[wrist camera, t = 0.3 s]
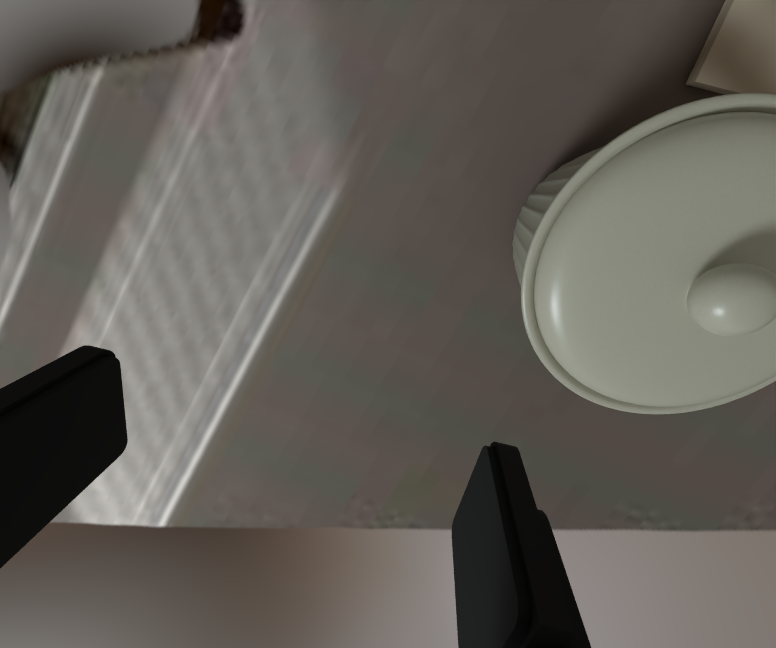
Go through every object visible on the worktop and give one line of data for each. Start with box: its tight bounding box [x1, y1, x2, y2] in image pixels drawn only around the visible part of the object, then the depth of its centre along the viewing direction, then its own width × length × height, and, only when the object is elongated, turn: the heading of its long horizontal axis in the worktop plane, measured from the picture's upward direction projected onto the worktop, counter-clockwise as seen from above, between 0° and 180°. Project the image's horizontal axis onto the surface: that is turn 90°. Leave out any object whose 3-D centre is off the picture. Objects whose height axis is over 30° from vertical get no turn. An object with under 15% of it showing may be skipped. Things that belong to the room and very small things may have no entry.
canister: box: [512, 93, 776, 414], centre depth 26 cm, size 18×18×21 cm
